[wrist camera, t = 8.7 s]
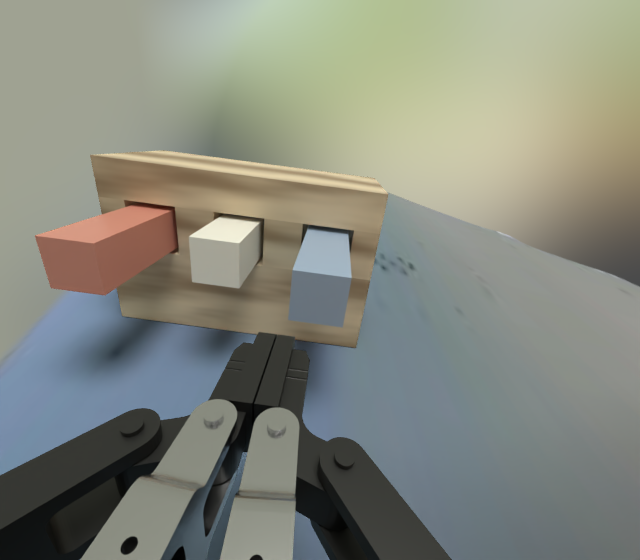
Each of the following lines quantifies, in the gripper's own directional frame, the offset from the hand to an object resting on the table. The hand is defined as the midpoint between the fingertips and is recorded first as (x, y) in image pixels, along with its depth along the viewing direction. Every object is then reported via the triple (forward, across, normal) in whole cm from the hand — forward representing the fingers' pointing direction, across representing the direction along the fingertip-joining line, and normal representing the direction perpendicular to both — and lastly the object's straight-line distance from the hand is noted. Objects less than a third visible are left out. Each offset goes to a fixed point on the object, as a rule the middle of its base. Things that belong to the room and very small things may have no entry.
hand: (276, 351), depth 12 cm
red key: (+10, +13, +2) cm, 16 cm away
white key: (+13, +6, +2) cm, 14 cm away
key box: (+18, +6, +9) cm, 21 cm away
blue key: (+10, -1, +2) cm, 11 cm away
